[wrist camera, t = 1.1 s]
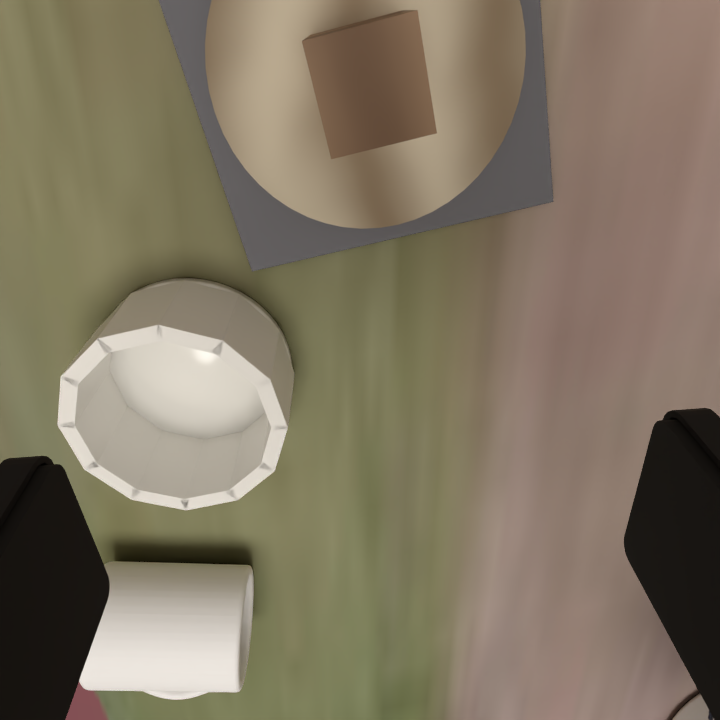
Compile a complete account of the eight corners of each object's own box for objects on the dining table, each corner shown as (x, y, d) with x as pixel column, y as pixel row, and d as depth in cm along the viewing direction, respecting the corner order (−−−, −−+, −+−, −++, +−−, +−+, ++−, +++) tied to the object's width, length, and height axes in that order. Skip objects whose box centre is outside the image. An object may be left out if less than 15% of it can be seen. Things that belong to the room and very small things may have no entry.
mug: (110, 536, 42) (65, 639, 35) (253, 540, 43) (236, 642, 36) (130, 643, 48) (95, 749, 41) (255, 645, 49) (241, 750, 42)
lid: (502, -171, 23) (559, -236, 17) (532, 186, 30) (580, 231, 24) (159, -71, 24) (99, -98, 18) (264, 249, 31) (246, 306, 25)
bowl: (259, 257, 32) (243, 305, 27) (313, 420, 37) (309, 486, 32) (67, 302, 33) (15, 356, 28) (147, 454, 38) (117, 523, 33)
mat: (523, -209, 23) (526, -212, 22) (550, 199, 31) (553, 201, 30) (129, -93, 24) (126, -95, 24) (253, 268, 32) (252, 271, 32)
